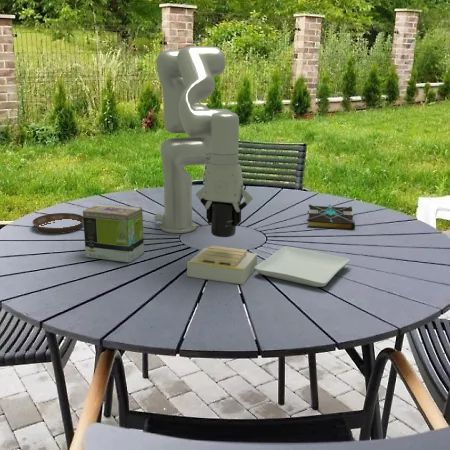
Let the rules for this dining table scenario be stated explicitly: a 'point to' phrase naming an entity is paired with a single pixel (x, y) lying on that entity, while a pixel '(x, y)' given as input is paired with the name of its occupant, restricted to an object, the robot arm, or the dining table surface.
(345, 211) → the book
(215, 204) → the supplement bottle
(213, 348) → the dining table surface
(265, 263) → the salad plate
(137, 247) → the tea box
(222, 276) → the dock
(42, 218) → the plant saucer
